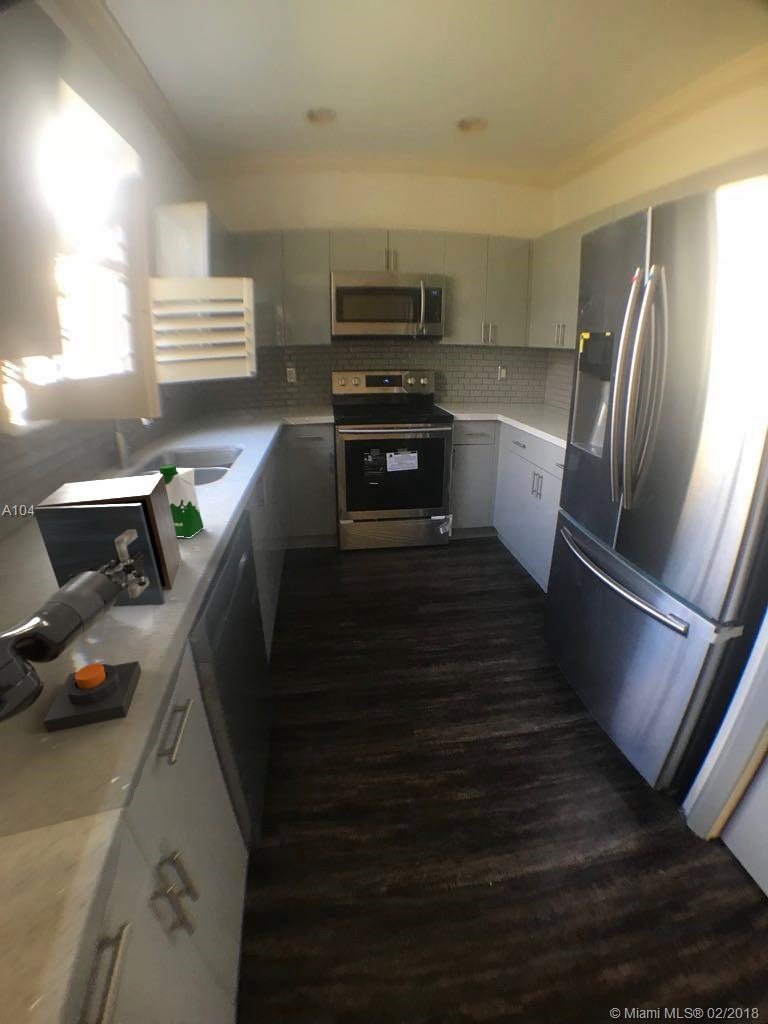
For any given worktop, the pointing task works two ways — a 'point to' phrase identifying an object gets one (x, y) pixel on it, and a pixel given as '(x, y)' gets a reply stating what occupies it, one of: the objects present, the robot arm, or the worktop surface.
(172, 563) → the cupboard
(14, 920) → the worktop surface
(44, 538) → the door
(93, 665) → the release button
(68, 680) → the panel
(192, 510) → the milk carton
